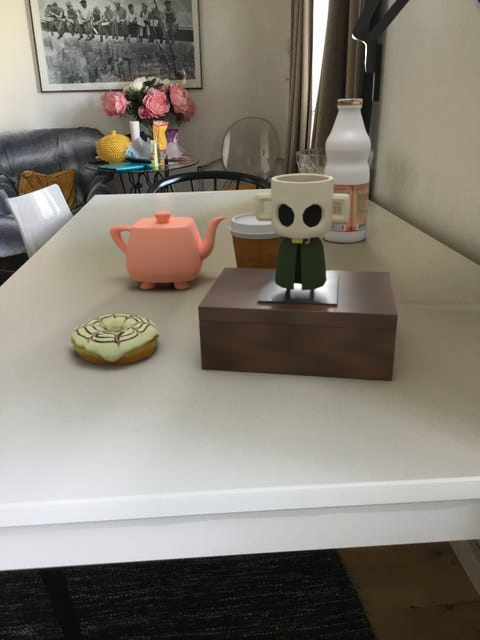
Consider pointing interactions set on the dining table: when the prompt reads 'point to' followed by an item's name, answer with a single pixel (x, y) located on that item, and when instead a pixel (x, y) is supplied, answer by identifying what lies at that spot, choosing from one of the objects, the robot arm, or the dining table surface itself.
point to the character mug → (301, 225)
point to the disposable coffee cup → (254, 242)
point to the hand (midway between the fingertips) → (430, 100)
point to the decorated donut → (115, 338)
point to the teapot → (165, 249)
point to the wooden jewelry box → (300, 325)
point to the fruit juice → (349, 170)
